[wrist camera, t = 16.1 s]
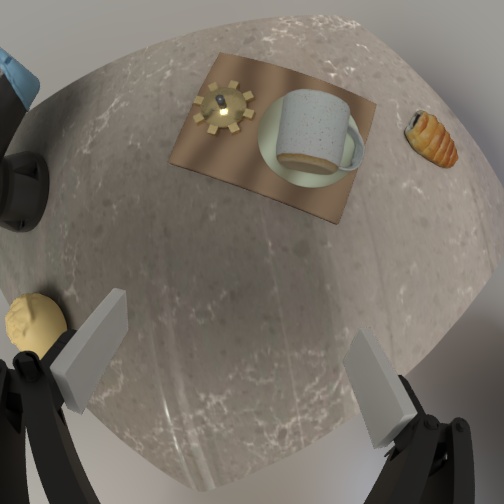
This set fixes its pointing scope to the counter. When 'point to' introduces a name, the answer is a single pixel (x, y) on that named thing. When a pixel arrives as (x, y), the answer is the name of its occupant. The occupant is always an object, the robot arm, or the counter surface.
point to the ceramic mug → (316, 133)
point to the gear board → (269, 139)
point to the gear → (224, 108)
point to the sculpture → (34, 323)
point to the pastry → (431, 140)
